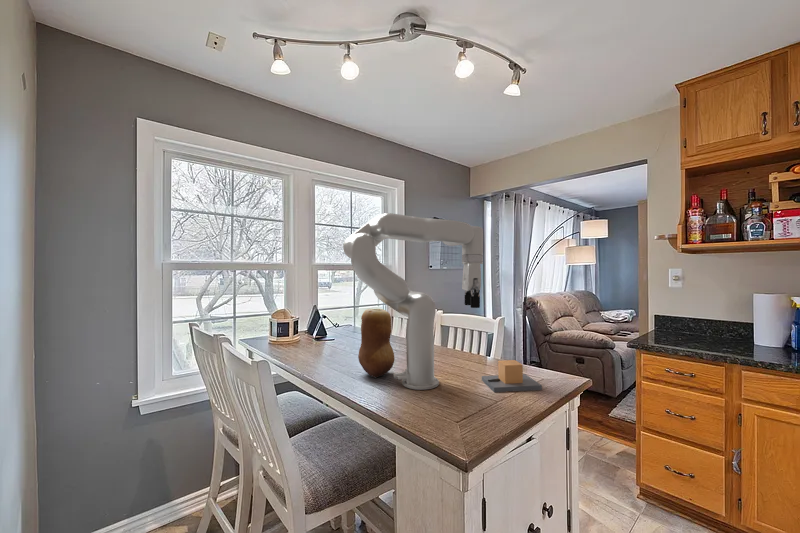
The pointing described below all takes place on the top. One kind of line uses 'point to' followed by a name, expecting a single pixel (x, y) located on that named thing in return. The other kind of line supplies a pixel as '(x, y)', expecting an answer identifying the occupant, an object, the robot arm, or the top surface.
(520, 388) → the plate
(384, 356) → the butternut squash
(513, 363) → the tan wooden cube
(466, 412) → the top surface
